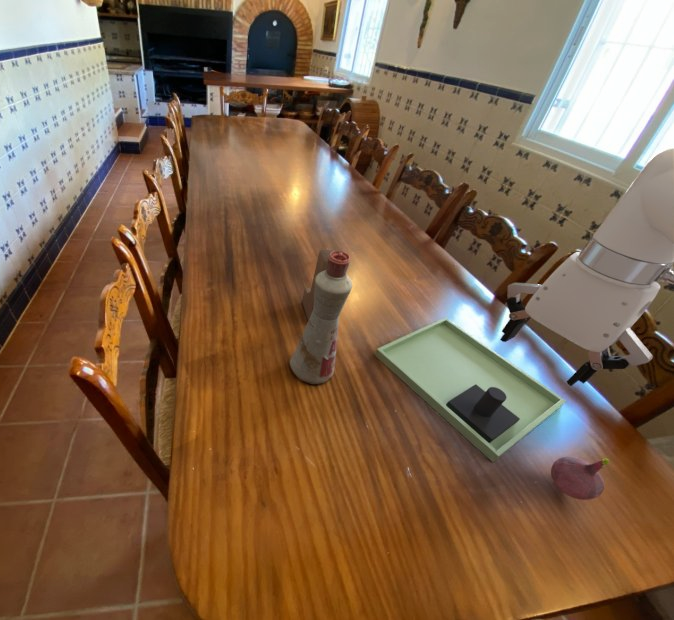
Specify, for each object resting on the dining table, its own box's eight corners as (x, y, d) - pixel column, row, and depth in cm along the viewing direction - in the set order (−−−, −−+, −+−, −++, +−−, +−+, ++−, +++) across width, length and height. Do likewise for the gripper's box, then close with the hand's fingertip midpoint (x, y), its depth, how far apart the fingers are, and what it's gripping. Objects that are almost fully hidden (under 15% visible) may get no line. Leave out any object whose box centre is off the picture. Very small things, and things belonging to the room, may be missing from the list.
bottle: (289, 351, 77) (312, 235, 59) (331, 356, 77) (367, 241, 59) (288, 383, 71) (314, 263, 53) (334, 389, 70) (376, 270, 52)
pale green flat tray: (560, 407, 71) (566, 401, 69) (492, 462, 61) (498, 456, 59) (441, 323, 88) (445, 317, 87) (374, 355, 78) (376, 348, 77)
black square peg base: (516, 422, 67) (536, 402, 63) (489, 443, 63) (507, 423, 59) (473, 387, 72) (488, 367, 68) (445, 405, 68) (459, 384, 64)
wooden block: (301, 301, 91) (314, 238, 79) (318, 301, 91) (334, 239, 80) (308, 325, 84) (324, 260, 73) (327, 325, 85) (345, 261, 73)
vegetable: (569, 515, 55) (616, 486, 48) (530, 478, 59) (569, 447, 52) (591, 499, 57) (639, 469, 50) (552, 464, 61) (592, 432, 55)
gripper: (728, 291, 39) (615, 390, 50) (559, 225, 50) (497, 318, 61) (706, 310, 36) (591, 412, 46) (530, 235, 47) (471, 331, 58)
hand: (538, 358), depth 54 cm, fingers open, 9 cm apart
